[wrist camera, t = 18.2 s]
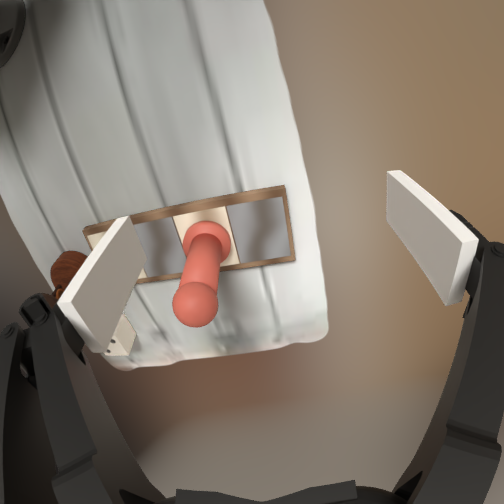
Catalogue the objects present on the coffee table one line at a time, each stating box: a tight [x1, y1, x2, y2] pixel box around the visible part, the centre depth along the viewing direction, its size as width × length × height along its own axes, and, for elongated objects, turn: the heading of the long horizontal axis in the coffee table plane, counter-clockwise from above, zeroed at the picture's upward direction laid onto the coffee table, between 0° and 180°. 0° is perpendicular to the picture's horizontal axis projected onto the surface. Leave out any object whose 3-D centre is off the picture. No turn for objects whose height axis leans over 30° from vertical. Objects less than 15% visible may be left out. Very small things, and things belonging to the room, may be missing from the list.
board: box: [82, 185, 295, 284], centre depth 45 cm, size 33×12×2 cm, turn 101°
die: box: [104, 314, 136, 355], centre depth 55 cm, size 6×6×6 cm
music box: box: [41, 251, 88, 308], centre depth 43 cm, size 15×11×20 cm
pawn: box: [172, 221, 231, 327], centre depth 38 cm, size 7×7×16 cm
